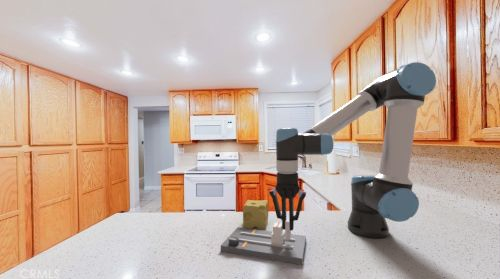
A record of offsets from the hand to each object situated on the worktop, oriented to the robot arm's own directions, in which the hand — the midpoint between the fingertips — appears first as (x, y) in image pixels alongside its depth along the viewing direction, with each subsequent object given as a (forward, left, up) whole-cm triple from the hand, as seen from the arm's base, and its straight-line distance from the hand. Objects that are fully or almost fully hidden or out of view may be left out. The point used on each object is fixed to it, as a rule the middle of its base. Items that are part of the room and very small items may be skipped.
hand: (288, 238), depth 75 cm
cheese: (+17, -18, -4) cm, 26 cm away
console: (+8, 0, -4) cm, 9 cm away
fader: (+4, 0, -2) cm, 4 cm away
